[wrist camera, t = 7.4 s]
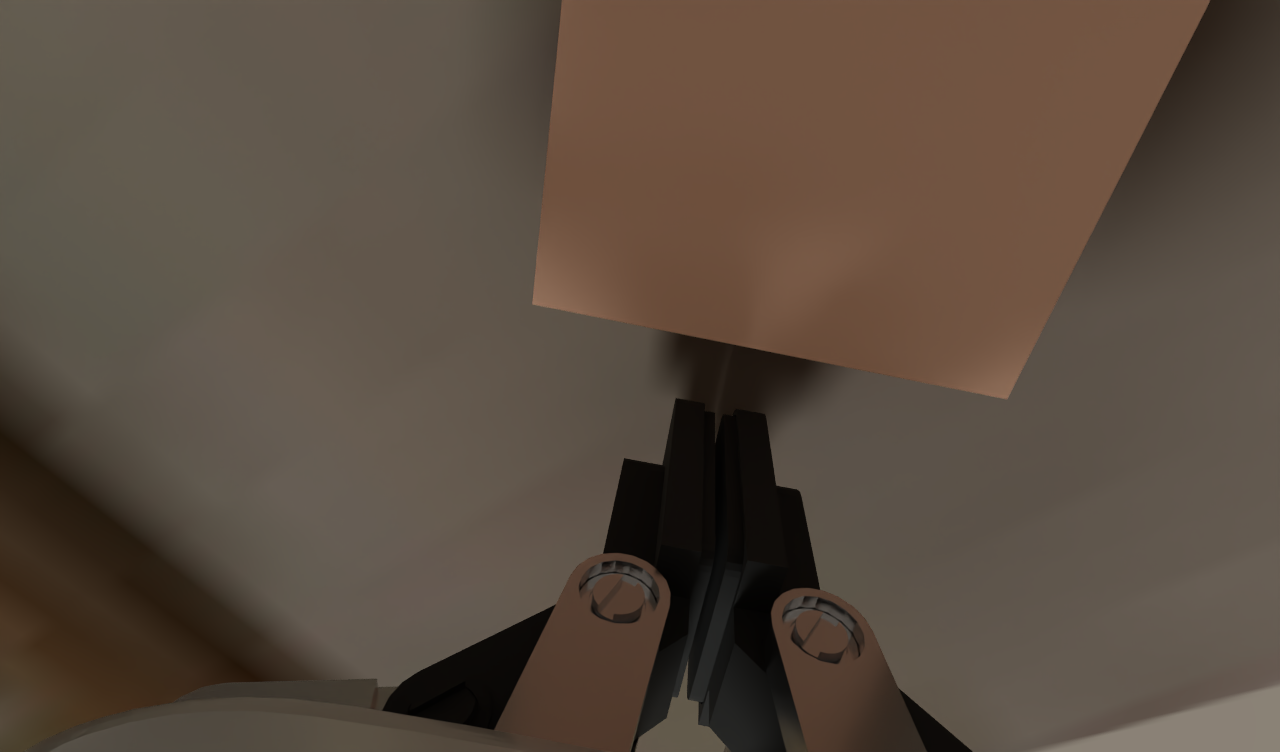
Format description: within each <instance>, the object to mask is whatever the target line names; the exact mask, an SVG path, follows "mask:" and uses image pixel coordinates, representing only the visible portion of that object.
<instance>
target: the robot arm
mask: <svg viewBox="0 0 1280 752" xmlns="http://www.w3.org/2000/svg"><path fill="white" fill-rule="evenodd" d="M688 657H689V659H688ZM687 661H688V684H687V698H688V700H693V701H698V702H699V717H698V725H703V726H708V727H710V728H711V729H712V730H713V731H714V732H715V734H716V735H717V736H718V737H719V738H720V739H721V740H722V742H723V743H724V744H725V745H726V746H725V749H724V752H972V751H971V750H970V749H969V748H968V747H967V746H965V745H964V744H963V743H962V742H961V741H960V740H958V739H957V738H956V737H955V736H954V735H953V734H951V733H950V732H949V731H948V730H947V729H946V728H944V727H943V726H942V725H941V724H940V723H939V722H937V721H936V720H935V719H934V718H933V717H932V716H930V715H929V714H928V713H927V712H926V711H925V710H923V709H922V708H921V707H920V706H919V705H918V704H916V703H915V702H914V701H913V700H912V699H911V698H909V697H908V696H907V695H906V694H905V693H903V692H902V691H901V690H900V689H899V688H898V686H897V684H896V682H895V680H894V677H893V675H892V673H891V671H890V669H889V666H888V664H887V662H886V660H885V657H884V655H883V653H882V651H881V648H880V646H879V644H878V642H877V640H876V637H875V635H874V633H873V631H872V629H871V628H870V626H869V624H868V623H867V621H866V620H865V618H864V617H863V616H862V615H861V614H860V613H859V612H858V611H857V610H856V609H855V608H854V607H853V606H851V605H850V604H848V603H847V602H845V601H844V600H842V599H841V598H839V597H837V596H835V595H832V594H830V593H828V592H825V591H822V590H820V587H819V582H818V577H817V572H816V567H815V562H814V557H813V552H812V547H811V542H810V537H809V532H808V527H807V522H806V517H805V512H804V507H803V502H802V497H801V494H800V492H799V491H798V490H797V489H791V488H786V487H780V486H776V482H775V475H774V468H773V461H772V455H771V448H770V441H769V434H768V427H767V421H766V416H765V414H762V413H756V412H750V411H745V410H739V409H735V411H734V413H733V416H729V415H724V414H723V416H722V419H721V422H720V427H719V431H718V435H717V439H716V443H715V413H713V412H707V411H705V404H704V403H700V402H694V401H688V400H683V399H677V398H676V400H675V404H674V409H673V414H672V419H671V424H670V429H669V434H668V440H667V445H666V450H665V455H664V460H663V465H658V464H653V463H647V462H641V461H636V460H630V459H625V458H624V461H623V466H622V470H621V475H620V479H619V484H618V489H617V493H616V498H615V502H614V507H613V511H612V516H611V520H610V525H609V529H608V534H607V539H606V543H605V548H604V552H603V554H600V555H597V556H594V557H591V558H588V559H587V560H585V561H584V562H582V563H581V564H579V565H578V566H577V567H576V569H575V570H574V571H573V573H572V574H571V575H570V577H569V579H568V581H567V583H566V585H565V587H564V589H563V591H562V593H561V595H560V598H559V600H558V602H557V604H556V605H554V606H552V607H550V608H548V609H546V610H544V611H542V612H540V613H538V614H536V615H534V616H531V617H529V618H527V619H525V620H523V621H521V622H519V623H517V624H515V625H513V626H511V627H509V628H507V629H505V630H503V631H501V632H499V633H497V634H495V635H493V636H491V637H489V638H487V639H484V640H482V641H480V642H478V643H476V644H474V645H472V646H470V647H468V648H466V649H464V650H462V651H460V652H458V653H456V654H454V655H452V656H450V657H448V658H446V659H444V660H442V661H439V662H437V663H435V664H433V665H431V666H429V667H427V668H425V669H423V670H421V671H419V672H417V673H416V674H414V675H413V676H411V677H410V678H408V679H407V680H405V681H404V682H402V683H401V684H400V685H399V686H398V687H378V684H377V679H348V680H313V681H279V682H244V683H223V684H217V685H212V686H206V687H202V688H200V689H198V690H196V691H193V692H191V693H189V694H187V695H184V696H182V697H180V698H179V699H177V700H176V701H175V702H173V703H169V704H163V705H157V706H151V707H145V708H138V709H133V710H129V711H125V712H121V713H117V714H114V715H110V716H106V717H102V718H99V719H96V720H93V721H90V722H87V723H84V724H80V725H77V726H74V727H72V728H70V729H67V730H65V731H63V732H61V733H58V734H56V735H54V736H51V737H49V738H47V739H44V740H43V741H41V742H39V743H37V744H36V745H34V746H32V747H30V748H29V749H27V750H25V751H24V752H636V749H637V744H638V740H639V737H640V736H641V735H643V734H644V733H646V732H647V731H649V730H650V729H651V728H653V727H654V726H656V725H657V724H658V723H660V722H661V721H663V720H664V719H666V718H667V714H668V710H669V706H670V702H671V698H672V697H678V695H679V691H680V687H681V684H682V680H683V676H684V672H685V669H686V665H687Z"/></svg>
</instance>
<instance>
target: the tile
mask: <svg viewBox="0 0 1280 752" xmlns="http://www.w3.org/2000/svg"><path fill="white" fill-rule="evenodd" d="M1209 2H1210V0H562V6H561V17H560V27H559V37H558V47H557V57H556V68H555V78H554V88H553V98H552V109H551V119H550V129H549V139H548V149H547V160H546V170H545V180H544V190H543V200H542V211H541V221H540V231H539V241H538V251H537V262H536V272H535V282H534V292H533V303H532V304H534V305H539V306H544V307H549V308H554V309H559V310H564V311H569V312H574V313H579V314H584V315H589V316H594V317H599V318H604V319H609V320H614V321H619V322H623V323H628V324H633V325H638V326H643V327H648V328H653V329H658V330H663V331H668V332H673V333H678V334H683V335H688V336H693V337H698V338H703V339H708V340H713V341H718V342H723V343H728V344H733V345H738V346H743V347H748V348H753V349H758V350H763V351H768V352H773V353H778V354H783V355H788V356H793V357H798V358H803V359H808V360H813V361H818V362H823V363H828V364H833V365H838V366H843V367H848V368H853V369H858V370H863V371H868V372H873V373H878V374H883V375H888V376H893V377H898V378H903V379H908V380H913V381H918V382H923V383H928V384H933V385H938V386H943V387H948V388H953V389H958V390H963V391H968V392H973V393H978V394H983V395H988V396H993V397H998V398H1003V399H1007V398H1008V396H1009V394H1010V393H1011V391H1012V389H1013V387H1014V385H1015V383H1016V381H1017V379H1018V377H1019V375H1020V373H1021V371H1022V369H1023V367H1024V365H1025V363H1026V361H1027V359H1028V357H1029V355H1030V353H1031V351H1032V349H1033V347H1034V345H1035V343H1036V342H1037V340H1038V338H1039V336H1040V334H1041V332H1042V330H1043V328H1044V326H1045V324H1046V322H1047V320H1048V318H1049V316H1050V314H1051V312H1052V310H1053V308H1054V306H1055V304H1056V302H1057V300H1058V298H1059V296H1060V294H1061V292H1062V291H1063V289H1064V287H1065V285H1066V283H1067V281H1068V279H1069V277H1070V275H1071V273H1072V271H1073V269H1074V267H1075V265H1076V263H1077V261H1078V259H1079V257H1080V255H1081V253H1082V251H1083V249H1084V247H1085V245H1086V243H1087V241H1088V240H1089V238H1090V236H1091V234H1092V232H1093V230H1094V228H1095V226H1096V224H1097V222H1098V220H1099V218H1100V216H1101V214H1102V212H1103V210H1104V208H1105V206H1106V204H1107V202H1108V200H1109V198H1110V196H1111V194H1112V192H1113V191H1114V189H1115V187H1116V185H1117V183H1118V181H1119V179H1120V177H1121V175H1122V173H1123V171H1124V169H1125V167H1126V165H1127V163H1128V161H1129V159H1130V157H1131V155H1132V153H1133V151H1134V149H1135V147H1136V145H1137V143H1138V141H1139V140H1140V138H1141V136H1142V134H1143V132H1144V130H1145V128H1146V126H1147V124H1148V122H1149V120H1150V118H1151V116H1152V114H1153V112H1154V110H1155V108H1156V106H1157V104H1158V102H1159V100H1160V98H1161V96H1162V94H1163V92H1164V90H1165V89H1166V87H1167V85H1168V83H1169V81H1170V79H1171V77H1172V75H1173V73H1174V71H1175V69H1176V67H1177V65H1178V63H1179V61H1180V59H1181V57H1182V55H1183V53H1184V51H1185V49H1186V47H1187V45H1188V43H1189V41H1190V39H1191V38H1192V36H1193V34H1194V32H1195V30H1196V28H1197V26H1198V24H1199V22H1200V20H1201V18H1202V16H1203V14H1204V12H1205V10H1206V8H1207V6H1208V4H1209Z"/></svg>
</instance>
